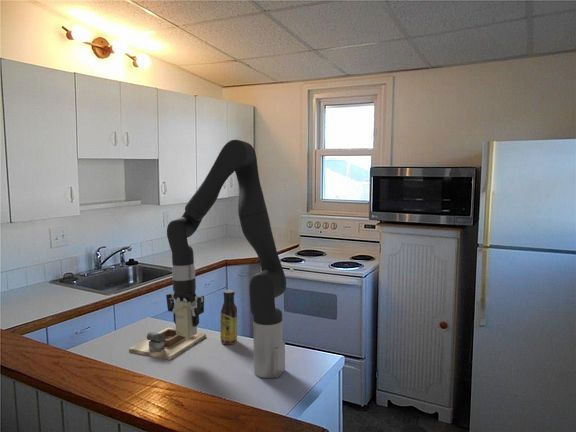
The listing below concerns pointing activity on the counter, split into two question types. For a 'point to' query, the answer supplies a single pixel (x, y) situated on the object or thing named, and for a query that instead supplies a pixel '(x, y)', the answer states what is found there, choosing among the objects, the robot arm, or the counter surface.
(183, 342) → the board
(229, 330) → the sauce bottle
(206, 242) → the counter surface
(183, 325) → the skincare box
